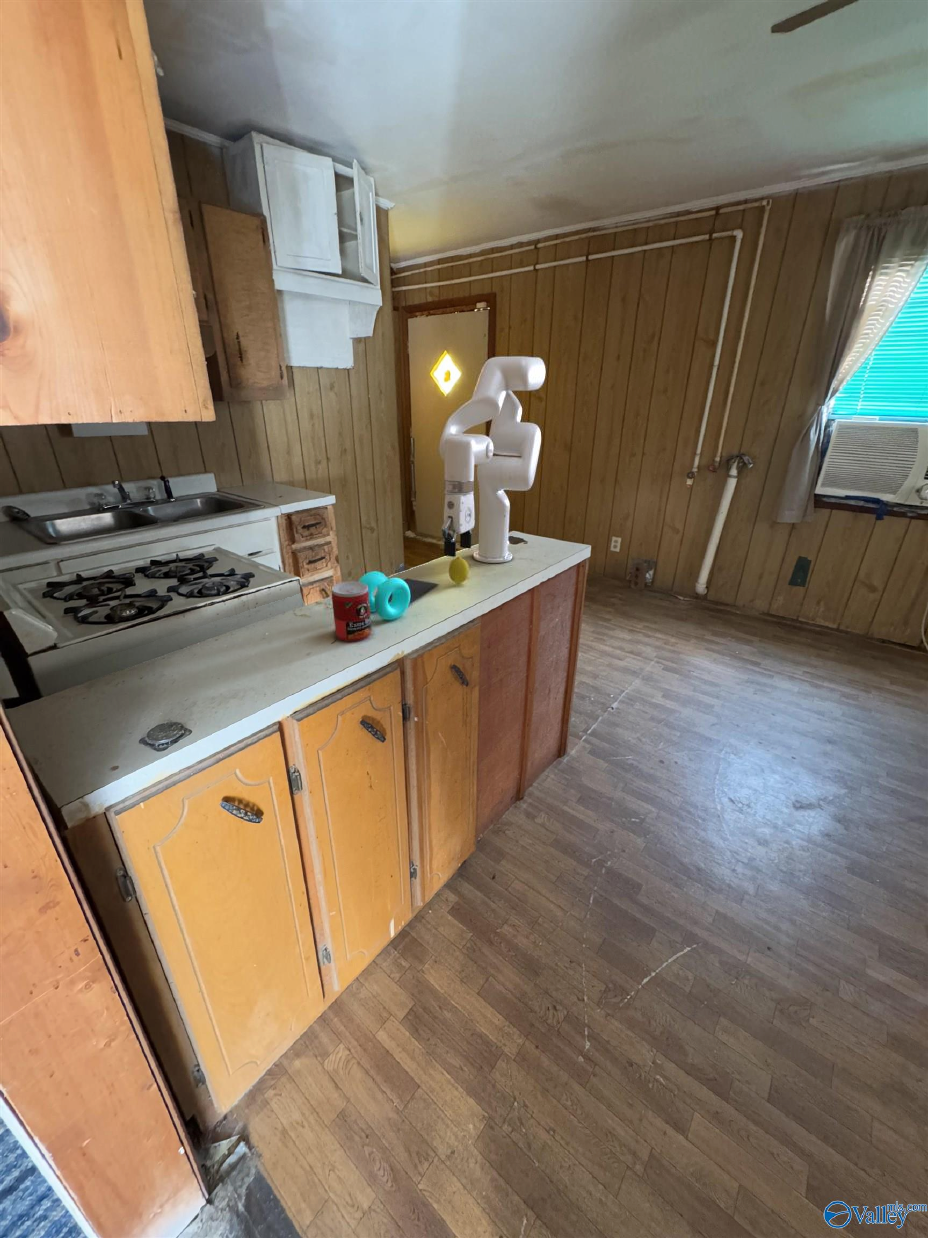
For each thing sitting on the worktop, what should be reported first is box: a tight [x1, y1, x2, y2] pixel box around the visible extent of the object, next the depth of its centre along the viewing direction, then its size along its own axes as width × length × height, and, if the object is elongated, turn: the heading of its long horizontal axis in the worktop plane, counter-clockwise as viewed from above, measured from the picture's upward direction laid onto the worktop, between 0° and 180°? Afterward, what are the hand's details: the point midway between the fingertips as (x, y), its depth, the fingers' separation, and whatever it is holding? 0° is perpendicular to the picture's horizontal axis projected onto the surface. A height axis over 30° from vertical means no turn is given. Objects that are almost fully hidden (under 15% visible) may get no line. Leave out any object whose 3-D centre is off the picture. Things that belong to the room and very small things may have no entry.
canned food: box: [330, 580, 372, 642], centre depth 108 cm, size 8×8×11 cm
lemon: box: [448, 556, 470, 586], centre depth 138 cm, size 6×6×8 cm
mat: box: [388, 578, 439, 605], centre depth 134 cm, size 18×10×1 cm, turn 155°
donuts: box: [358, 570, 410, 621], centre depth 118 cm, size 10×10×10 cm
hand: (458, 551), depth 136 cm, fingers open, 9 cm apart
